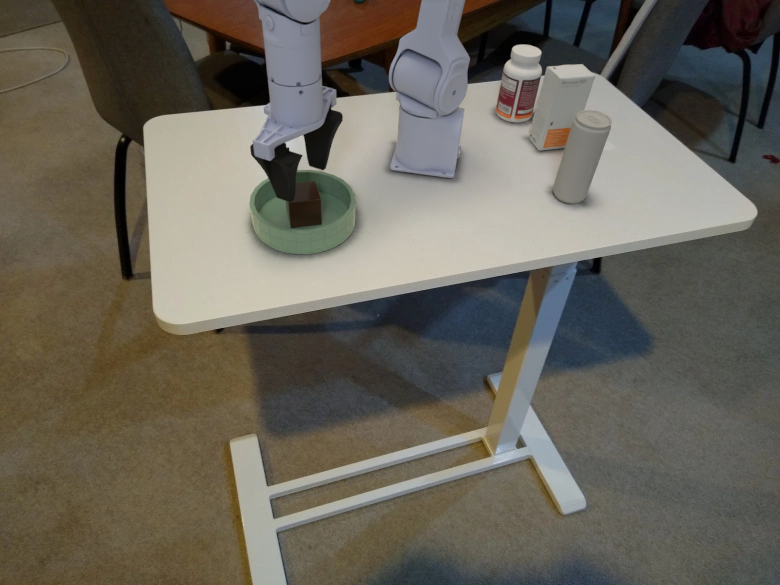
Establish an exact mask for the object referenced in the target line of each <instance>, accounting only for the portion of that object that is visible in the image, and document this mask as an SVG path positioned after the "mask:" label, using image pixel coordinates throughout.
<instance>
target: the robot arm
mask: <svg viewBox="0 0 780 585" xmlns="http://www.w3.org/2000/svg"><path fill="white" fill-rule="evenodd" d="M252 1H253V2H254V3H255V5H256V6H257V11H258V19H259V20H260V21H261V27H262V37H263V47H264V55H265V65H266V66H265V67H266V76H267V85H268V94H269V102H268V103H267V104H266V105H264V107H263V114H264V115H267V117H266V118H265V121H264V123H263V125H262V127H261V130H260V132H259V133H258V135H257V136H256V137H255V138H254V139H252V144H251V145H250V146H249V148H250V155H251V157H252V158H253V159H254V160H255V161H256V162H257V163H258V165H259V166H260V167H261V169H262V170H263V171H264V173H265V175H266V176H267V178H269V180H270V182H271V185H272V187H273V189H274V192H275V194H276V196H277V198H279V199H282V200H285V201H288V202H292V201H293V200H294V197H295V189H296V173H297V170H298V168H299V165H300V163H301V160H302V158H303V154H301V153H297V152H294V151H291V150H290V147H289V146H288V147H287V143H288V142H290V141H292V140H294V139H297V138H299V137H302V136H303V139H304V145H305V146H304V147H305V152H306V159H307V163H308V165H309V167H310V168H314V169H317V170H319V171H325V169H327V166H328V161H329V158H330V153H331V149H332V146H333V141H334V138H335V136H336V134H337V131H338V129H339V127H340V126H341V125H342V123H343V118H344V117H343V113H342V112H340V111H338V110H334V109H332V108H334V107H335V106H336V105H337V89H335V88H333V87H328V86H324V85H323V75H322V74H323V73H322V70H323V69H322V46H321V45H322V44H321V42H322V40H321V16H322V14H323V13H325V12H326V11H327V10H328V8H329V6H330V3H331V0H252ZM465 3H466V0H421V2H420V6H419V11H418V12H419V13H418V17H417V21H416V27H415V29H412V30H411V31H410V32H408V33H407V34H405V35H403V36H402V37H401V38H399V41H398V46H397V51H396V53H395V56H394V57H393V60H392V62H391V63H390V66H389V72H388V83H389V85H390V88H391V89H392V90H393V91H394V92H395V93H396V94H395V100H396V101H398V103H399V107H398V123H397V124H398V125H397V137H396V138H397V140H396V143H395V148H394V150H393V155H392V158H391V162H390V164H389V170H391V171H395V172H403V173H409V174H416V175H425V176H433V177H440V178H448V179H454V178H455V174H456V167H457V161H458V159H460V157H461V151H462V150H461V149H462V145H460V144H461V143H460V142H461V136H462V129H463V122H464V116H465V108H464V107H460V105H461V104H462V102H463V101H464V99H465V97H466V94H467V91H468V86H469V83H468V70H469V66H470V61H471V57H470V56H469V53H468V52H467V50H466V48H465V47H464V45H463V44H462V42H461V40H460V38H459V37H458V34H459V28H460V24H461V21H462V16H463V10H464V8H465Z"/></svg>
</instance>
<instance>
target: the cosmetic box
mask: <svg viewBox="0 0 780 585" xmlns="http://www.w3.org/2000/svg"><path fill="white" fill-rule="evenodd" d="M544 72H545V73H544V77H543V80H542V84H541V87H540V91H539V94H538V99H537V103H536V107H535V110H534V114H533V118H532V122H531V125H530V129H529V132H528V139H529V141H530V142H531V143H532V144H533V145H534V146H535V148H536V149H537V151H539V152H540V151H547V150H548V151H549V150H557V149H565V146H566V142H567V139H568V136H569V133H570V129H571V126H572V123H573V120H574V118H575V117H576V114H577V113H578V112H579V111H582V110H586V106H587V103H588V100H589V97H590V94H591V90H592V88H593V86H594V82H595V79H596V75H595V74H594V73H593V72H592V71H591V70H589V69H588V68H587V67H586V66H585V65H584V63H580V64H561V65H551V66H550V65H549V66H546V69H545V71H544Z"/></svg>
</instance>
